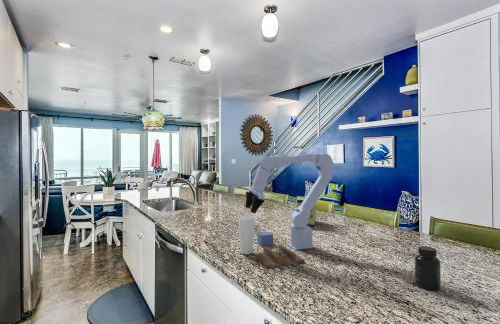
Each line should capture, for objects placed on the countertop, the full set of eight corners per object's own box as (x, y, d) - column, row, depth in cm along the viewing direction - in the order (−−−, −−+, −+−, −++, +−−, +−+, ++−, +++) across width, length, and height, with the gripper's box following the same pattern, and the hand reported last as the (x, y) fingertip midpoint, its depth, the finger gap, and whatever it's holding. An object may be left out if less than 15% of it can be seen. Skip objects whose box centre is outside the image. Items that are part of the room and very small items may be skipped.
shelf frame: (289, 251, 115) (289, 243, 114) (304, 262, 103) (304, 253, 103) (254, 256, 109) (254, 247, 109) (266, 267, 98) (266, 258, 98)
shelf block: (269, 242, 128) (269, 231, 128) (273, 245, 124) (273, 234, 124) (257, 243, 126) (257, 232, 126) (261, 246, 122) (261, 235, 122)
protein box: (296, 225, 158) (296, 199, 158) (299, 220, 173) (299, 196, 173) (314, 227, 155) (314, 200, 155) (315, 221, 170) (316, 196, 170)
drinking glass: (240, 256, 109) (240, 219, 109) (236, 250, 116) (237, 216, 115) (256, 254, 111) (256, 218, 111) (252, 249, 117) (252, 215, 117)
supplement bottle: (430, 280, 88) (430, 244, 88) (445, 291, 81) (446, 252, 81) (409, 281, 88) (410, 244, 88) (423, 291, 81) (424, 252, 81)
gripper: (247, 176, 126) (237, 203, 127) (257, 182, 113) (247, 213, 113) (260, 180, 129) (250, 207, 129) (272, 187, 115) (261, 216, 115)
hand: (250, 210), depth 121 cm, fingers open, 7 cm apart
